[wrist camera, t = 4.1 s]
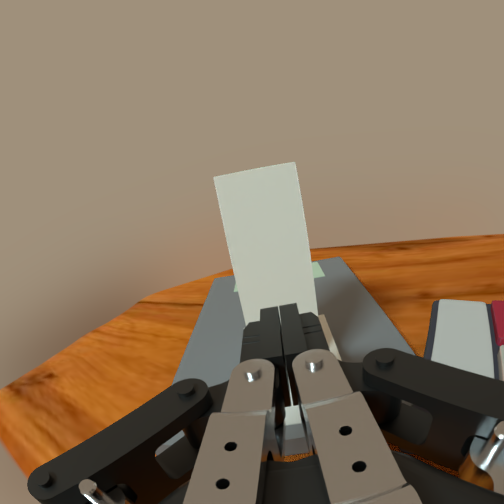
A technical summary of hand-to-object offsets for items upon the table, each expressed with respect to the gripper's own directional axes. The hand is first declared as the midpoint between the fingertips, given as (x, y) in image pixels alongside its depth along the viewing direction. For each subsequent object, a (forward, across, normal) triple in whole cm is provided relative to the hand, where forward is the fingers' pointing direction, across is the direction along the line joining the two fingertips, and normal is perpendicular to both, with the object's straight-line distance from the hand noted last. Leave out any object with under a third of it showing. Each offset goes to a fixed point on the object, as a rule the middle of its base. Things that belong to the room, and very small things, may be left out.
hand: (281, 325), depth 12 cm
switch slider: (+6, 0, +6) cm, 8 cm away
